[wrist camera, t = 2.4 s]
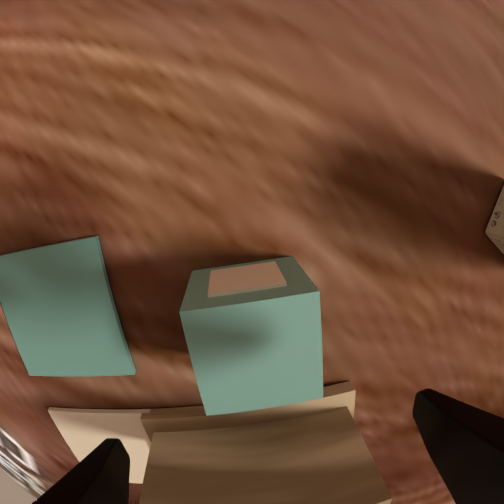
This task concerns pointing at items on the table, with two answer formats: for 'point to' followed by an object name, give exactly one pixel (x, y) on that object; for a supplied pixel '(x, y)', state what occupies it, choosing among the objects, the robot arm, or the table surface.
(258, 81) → the table surface
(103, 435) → the ivory coaster
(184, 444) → the screen
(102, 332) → the teal coaster
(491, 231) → the skincare box
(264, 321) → the cube
